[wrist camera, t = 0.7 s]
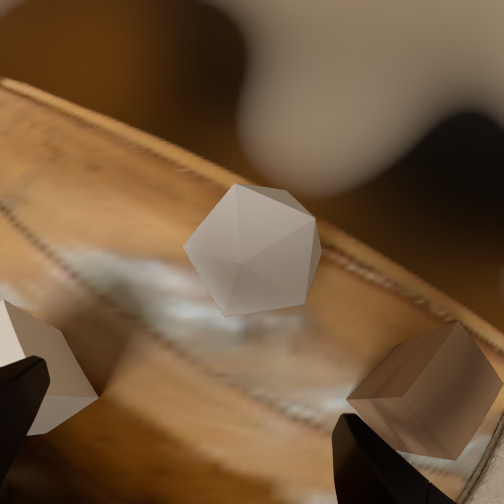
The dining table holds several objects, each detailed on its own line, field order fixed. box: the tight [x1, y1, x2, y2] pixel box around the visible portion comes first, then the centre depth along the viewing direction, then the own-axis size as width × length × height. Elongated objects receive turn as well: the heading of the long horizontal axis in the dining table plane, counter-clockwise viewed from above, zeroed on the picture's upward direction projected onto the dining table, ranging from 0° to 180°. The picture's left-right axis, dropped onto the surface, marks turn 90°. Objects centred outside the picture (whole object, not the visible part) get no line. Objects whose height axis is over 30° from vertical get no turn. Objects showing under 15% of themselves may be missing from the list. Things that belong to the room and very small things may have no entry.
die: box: [183, 183, 322, 317], centre depth 21 cm, size 8×9×10 cm
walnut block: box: [346, 320, 504, 460], centre depth 17 cm, size 6×6×8 cm
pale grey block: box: [0, 299, 99, 435], centre depth 15 cm, size 6×6×8 cm
